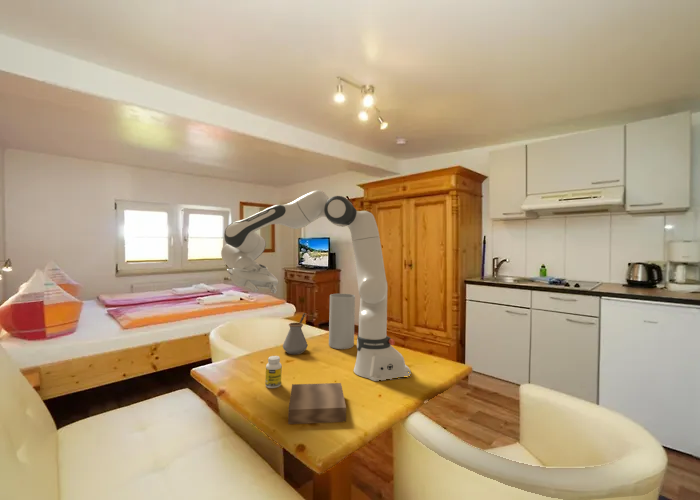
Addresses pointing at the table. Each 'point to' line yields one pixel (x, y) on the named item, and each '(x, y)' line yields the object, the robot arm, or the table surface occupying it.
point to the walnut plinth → (316, 403)
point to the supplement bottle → (273, 372)
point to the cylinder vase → (341, 321)
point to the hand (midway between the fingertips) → (265, 291)
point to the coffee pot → (295, 339)
